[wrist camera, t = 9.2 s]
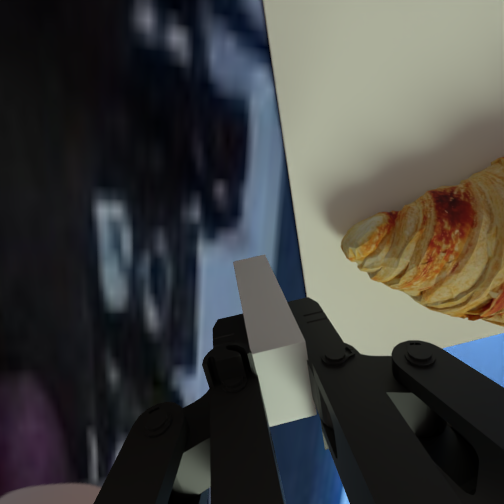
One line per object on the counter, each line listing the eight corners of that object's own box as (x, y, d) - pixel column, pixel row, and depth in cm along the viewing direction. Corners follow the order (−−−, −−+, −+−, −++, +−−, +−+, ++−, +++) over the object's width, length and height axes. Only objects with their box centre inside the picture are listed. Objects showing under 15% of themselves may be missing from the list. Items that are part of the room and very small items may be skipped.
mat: (630, -171, 13) (636, -175, 13) (544, 320, 22) (547, 321, 22) (247, -105, 12) (247, -108, 12) (318, 376, 21) (319, 379, 21)
